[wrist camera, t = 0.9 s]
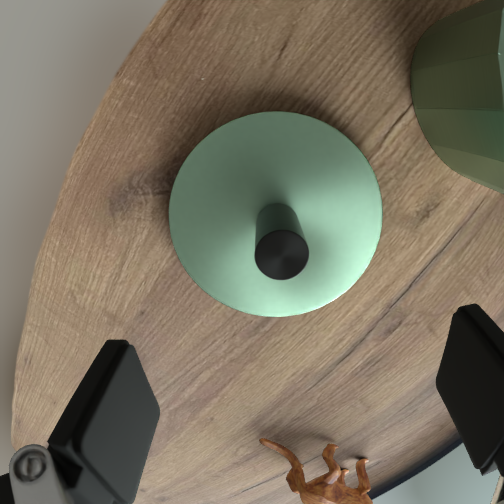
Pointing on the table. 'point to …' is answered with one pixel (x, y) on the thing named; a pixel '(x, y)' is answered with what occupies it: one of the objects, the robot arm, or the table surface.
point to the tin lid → (275, 214)
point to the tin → (464, 91)
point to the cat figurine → (325, 479)
